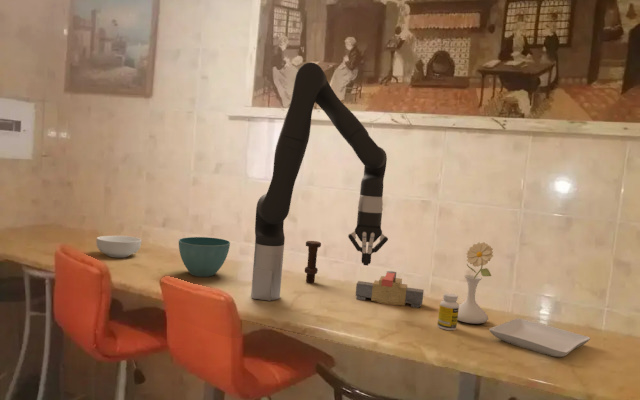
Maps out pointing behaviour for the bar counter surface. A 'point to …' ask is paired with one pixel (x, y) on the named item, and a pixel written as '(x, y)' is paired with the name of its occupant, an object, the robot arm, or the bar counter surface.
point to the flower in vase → (475, 284)
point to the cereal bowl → (118, 245)
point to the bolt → (312, 260)
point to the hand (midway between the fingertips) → (365, 264)
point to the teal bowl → (203, 254)
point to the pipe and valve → (389, 293)
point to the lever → (389, 279)
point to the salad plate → (539, 337)
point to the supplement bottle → (448, 312)
